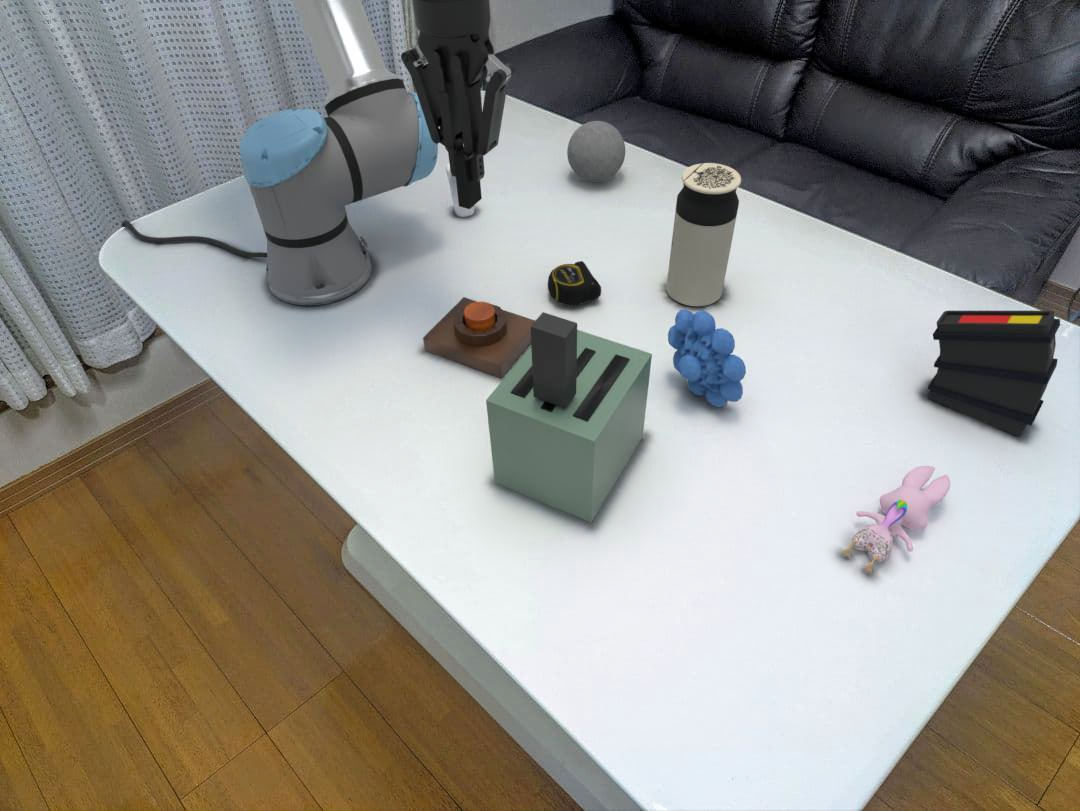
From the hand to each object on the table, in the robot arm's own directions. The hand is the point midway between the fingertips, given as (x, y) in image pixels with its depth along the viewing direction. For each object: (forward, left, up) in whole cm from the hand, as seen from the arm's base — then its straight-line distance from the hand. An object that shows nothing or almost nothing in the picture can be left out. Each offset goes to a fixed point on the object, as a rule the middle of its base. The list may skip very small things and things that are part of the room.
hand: (470, 202), depth 88 cm
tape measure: (+8, +13, -20) cm, 25 cm away
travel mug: (+23, +21, -20) cm, 37 cm away
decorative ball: (-4, +45, -20) cm, 49 cm away
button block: (+1, -3, -19) cm, 20 cm away
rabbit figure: (+56, -8, -20) cm, 60 cm away
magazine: (+60, +14, -20) cm, 65 cm away
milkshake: (-19, +24, -20) cm, 36 cm away
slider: (+21, -19, -6) cm, 29 cm away
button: (+1, -3, -16) cm, 16 cm away
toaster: (+21, -16, -19) cm, 33 cm away
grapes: (+30, 0, -20) cm, 36 cm away
